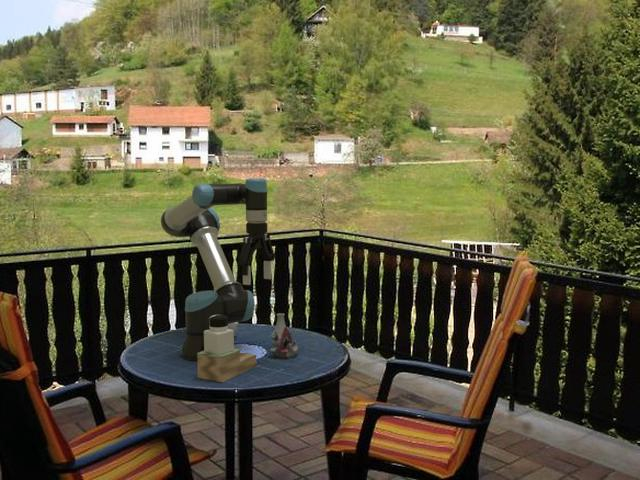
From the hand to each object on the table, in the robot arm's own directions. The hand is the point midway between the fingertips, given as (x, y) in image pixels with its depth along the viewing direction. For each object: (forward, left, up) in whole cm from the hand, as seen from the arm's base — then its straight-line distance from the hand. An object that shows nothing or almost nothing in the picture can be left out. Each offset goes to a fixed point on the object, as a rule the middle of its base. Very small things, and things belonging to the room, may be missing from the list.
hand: (257, 281), depth 228 cm
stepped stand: (-2, -16, -29) cm, 33 cm away
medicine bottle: (-2, -21, -20) cm, 29 cm away
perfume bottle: (-30, +22, -29) cm, 47 cm away
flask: (-9, +31, -29) cm, 43 cm away
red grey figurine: (+5, +10, -29) cm, 31 cm away
